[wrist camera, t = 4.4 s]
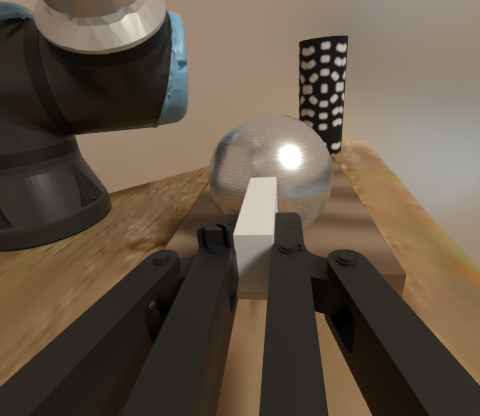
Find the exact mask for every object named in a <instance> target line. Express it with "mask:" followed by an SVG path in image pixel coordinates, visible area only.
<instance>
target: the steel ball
mask: <svg viewBox="0 0 480 416" xmlns="http://www.w3.org/2000/svg"><path fill="white" fill-rule="evenodd" d="M258 177H276V180H277V209H278V213H285V212H296V213H297V214H298V215H299V216H300V217H301V222H302V229H304V228H305V227H307V226H308V225H309V224H310V223H312V222H313V221H314V220H315V219H316V218H317V217H318V215H319V214H320V213H321V212H322V210H323V209H324V207H325V205H326V203H327V201H328V199H329V197H330V193H331V190H332V183H333V166H332V161H331V158H330V154H329V151H328V149H327V147H326V145H325V143H324V142H323V140H322V139H321V137H320V136H319V135H318V134H317V133H316V132H315V131H314V130H313V129H312V128H311V127H309V126H308V125H307V124H305V123H304V122H302V121H300V120H298V119H296V118H293V117H291V116H287V115H283V114H273V113H269V114H260V115H256V116H253V117H250V118H247V119H245V120H243V121H241V122H239V123H238V124H236V125H235V126H233V127H232V128H231V129H230V130H229V131H228V132H227V133H226V134H225V135H224V136H223V137H222V138H221V140H220V141H219V143H218V144H217V146H216V148H215V150H214V152H213V155H212V158H211V161H210V166H209V176H208V178H209V187H210V192H211V196H212V198H213V201H214V203H215V205H216V207H217V209H218V210H219V212H220V213H221V215H222V216H224V215H225V214H240V211H241V208H242V204H243V201H244V198H245V195H246V191H247V188H248V185H249V182H250V178H258Z"/></svg>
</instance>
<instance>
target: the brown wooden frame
mask: <svg viewBox="0 0 480 416" xmlns="http://www.w3.org/2000/svg"><path fill="white" fill-rule="evenodd" d="M330 158H331V161H332V166H333V183H332V190H331V193H330V197H329V199H328V201H327V203H326V205H325V207H324V209H323V210H322V212H321V213H320V214H319V215H318V217H317V218H316V219H315V220H314V221H313V222H312V223H310V224H309V225H308V226H307V227H305V228H304V229H302V230H303V238H304V245H305V246H306V248H307V250H308V251H309V252H311V253H312V254H315V255H317V256H321V257H326V258H327V257H328V254H329V253H331V252H332V251H334V250H338V249H349V250H354V251H356V252H359V253H361V254H362V255H363V256H365V257H366V258H367V259H368V260H369V262H370V263H371V264H372V265H373V266H374V267H375V268H376V269H377V271H378V272H379V273H380V274H381V275H382V276H383V277H384V278H385V280H386V281H387V282H388V283H389V284H390V285H391V286H392V288H393V289H394V290H395V291H396V292H397V293H398V294H399V295H400V297H401V298H402V294H403V289H404V283H405V278H406V273H405V272H404V270H403V268H402V267H401V265H400V263H399V262H398V260H397V259H396V257H395V255H394V254H393V252H392V250H391V249H390V247H389V246H388V244H387V242H386V241H385V239H384V238H383V236H382V234H381V233H380V231H379V229H378V228H377V226H376V225H375V223H374V221H373V220H372V218H371V216H370V215H369V213H368V212H367V210H366V208H365V207H364V205H363V203H362V202H361V200H360V199H359V197H358V195H357V194H356V192H355V190H354V189H353V187H352V186H351V184H350V182H349V181H348V179H347V177H346V176H345V174H344V173H343V171H342V169H341V168H340V166H339V164H338V163H337V161H336V160H335V158H334V156H330ZM221 217H222V215H221V213H220V212H219V210H218V209H217V207H216V205H215V203H214V201H213V198H212V196H211V192H210V187H209V183H208V185H207V186H206V188H205V189H204V191H203V192H202V194H201V195H200V197H199V198H198V200H197V201H196V203H195V204H194V206H193V207H192V209H191V210H190V212H189V213H188V215H187V216H186V218H185V219H184V221H183V222H182V224H181V225H180V227H179V228H178V230H177V231H176V233H175V234H174V235H173V237H172V238H171V240H170V241H169V243H168V244H167V246H166V247H165V249H164V250H173V251H176V252H177V253H178V255H179V258H184V257H189V256H193V255H196V254H197V252H198V250H199V245H198V239H197V233H196V230H197V229H198V228H199V227H200V226H202V225H204V224H208V223H213V222H218V221H219V219H220V218H221ZM237 297H238V299H268V292H246V291H239V284H238V286H237Z"/></svg>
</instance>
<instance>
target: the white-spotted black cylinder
mask: <svg viewBox="0 0 480 416" xmlns="http://www.w3.org/2000/svg"><path fill="white" fill-rule="evenodd" d="M347 46H348V36H330V37H321V38H315V39H309V40H304V41H301V42H299V120H300V121H302V122H304V123H305V124H307V125H308V126H309V127H311V128H312V129H313V130H314V131H315V132H316V133H317V134H318V135H319V136H320V137H321V139H322V140H323V142H324V143H325V145H326V147H327V149H328V151H329V154H330V155H334V154H337V153H339V152H340V151H341V141H342V125H343V109H344V93H345V76H346V62H347Z"/></svg>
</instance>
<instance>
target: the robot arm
mask: <svg viewBox="0 0 480 416" xmlns="http://www.w3.org/2000/svg"><path fill="white" fill-rule="evenodd" d="M186 59H187V53H186V41H185V34H184V27H183V22H182V19H181V17H180V15H179V14H177V13H174V12H171V11H166V4H165V0H37V2H36V4H35V7H34V12H32V11H31V10H30V9H28V8H27V7H24V6H22V5H19V4H15V3H9V2H1V1H0V251H4V250H17V249H24V248H29V247H34V246H39V245H43V244H46V243H50V242H53V241H56V240H60V239H62V238H65V237H68V236H70V235H73V234H75V233H78V232H80V231H82V230H84V229H86V228H88V227H90V226H92V225H93V224H95V223H97V222H98V221H100V220H101V219H102V218H104V217H105V216H106V215H107V214H108V213H109V211H110V210H111V207H112V205H111V201H110V198H109V195H108V192H107V190H106V188H105V187H104V186H103V184H102V183H101V181H100V180H99V179H98V177H97V176H96V175H95V173H94V172H93V170H92V169H91V168H90V166H89V165H88V164H87V162H86V161H85V159H84V158H83V157H82V155H81V153H80V150H79V148H78V144H77V141H76V138H75V135H79V134H89V133H99V132H108V131H120V130H130V129H140V128H150V127H152V128H153V127H154V128H156V127H158V126H160V125H165V124H171V123H175V122H178V121H180V120H182V119H183V118H184V116H185V114H186V112H187V106H188V72H187V67H186V66H187V60H186ZM196 233H197V239H198V245H199V250H198V252H197V254H196V255H193V256H189V257H184V258H179V255H178V253H177V252H176V251H173V250H159V251H157V252H154V253H152V254H151V255H149V256H148V257H146V258H145V259H144V260H143V261H142V262H141V263H140V264H139V265H137V266H136V267H135V268H134V269H133V270H132V271H131V272H129V273H128V274H127V275H126V276H125V277H124V278H123V279H122V280H120V281H119V282H118V283H117V284H116V285H115V286H114V287H113V288H111V289H110V290H109V291H108V292H107V293H106V294H105V295H103V296H102V297H101V298H100V299H99V300H98V301H97V302H96V303H94V304H93V305H92V306H91V307H90V308H89V309H88V310H86V311H85V312H84V313H83V314H82V315H81V316H80V317H79V318H77V319H76V320H75V321H74V322H73V323H72V324H71V325H70V326H68V327H67V328H66V329H65V330H64V331H63V332H62V333H60V334H59V335H58V336H57V337H56V338H55V339H54V340H53V341H51V342H50V343H49V344H48V345H47V346H46V347H45V348H43V349H42V350H41V351H40V352H39V353H38V354H37V355H36V356H34V357H33V358H32V359H31V360H30V361H29V362H28V363H26V364H25V365H24V366H23V367H22V368H21V369H20V370H19V371H17V372H16V373H15V374H14V375H13V376H12V377H11V378H10V379H8V380H7V381H6V382H5V383H4V384H3V385H2V386H0V416H116V414H117V413H118V412H119V410H120V409H121V407H122V406H123V405H124V403H125V402H126V400H127V399H128V400H127V402H126V404H125V406H124V408H123V410H122V413H121V415H120V416H215V415H216V410H217V404H218V399H219V394H220V389H221V384H222V379H223V374H224V368H225V363H226V358H227V353H228V348H229V343H230V338H231V332H232V327H233V322H234V317H235V312H236V307H237V302H238V297H237V286H238V284H239V291H246V292H268V299H267V313H266V327H265V341H264V355H263V369H262V383H261V397H260V411H259V416H328V409H327V401H326V393H325V386H324V378H323V370H322V363H321V355H320V347H319V340H318V332H317V325H316V317H315V311H316V312H320V313H323V314H324V316H325V320H326V322H327V324H328V326H329V328H330V330H331V332H332V334H333V336H334V338H335V340H336V342H337V344H338V346H339V348H340V350H341V352H342V354H343V356H344V358H345V360H346V363H347V365H348V367H349V369H350V371H351V373H352V375H353V377H354V379H355V381H356V383H357V385H358V387H359V389H360V391H361V393H362V395H363V397H364V399H365V401H366V403H367V405H368V408H369V410H370V412H371V414H372V416H480V385H479V384H478V383H477V382H476V381H475V380H474V379H473V378H472V376H471V375H470V374H469V373H468V372H467V371H466V370H465V369H464V367H463V366H462V365H461V364H460V363H459V362H458V361H457V360H456V358H455V357H454V356H453V355H452V354H451V353H450V352H449V351H448V349H447V348H446V347H445V346H444V345H443V344H442V343H441V342H440V340H439V339H438V338H437V337H436V336H435V335H434V334H433V333H432V331H431V330H430V329H429V328H428V327H427V326H426V325H425V324H424V322H423V321H422V320H421V319H420V318H419V317H418V316H417V315H416V313H415V312H414V311H413V310H412V309H411V308H410V307H409V306H408V304H407V303H406V302H405V301H404V300H403V299H402V298H401V297H400V295H399V294H398V293H397V292H396V291H395V290H394V289H393V288H392V286H391V285H390V284H389V283H388V282H387V281H386V280H385V278H384V277H383V276H382V275H381V274H380V273H379V272H378V271H377V269H376V268H375V267H374V266H373V265H372V264H371V263H370V262H369V260H368V259H367V258H366V257H365V256H363V255H362V254H361V253H359V252H356V251H354V250H349V249H338V250H334V251H332V252H331V253H329V254H328V257H327V258H326V257H321V256H317V255H315V254H312V253H311V252H309V251H308V250H307V248H306V246H305V245H304V238H303V230H302V222H301V217H300V216H299V215H298V214H297V213H296V212H285V213H278V209H277V180H276V177H258V178H250V182H249V185H248V188H247V191H246V195H245V198H244V201H243V204H242V208H241V211H240V214H225V215H224V216H222V217H221V218H220V219H219V221H218V222H213V223H208V224H204V225H202V226H200V227H199V228H198V229H197V230H196ZM153 300H154V303H155V304H154V305H153V306H152V307H151V308H149V304H150V303H151V302H152V301H153Z"/></svg>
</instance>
